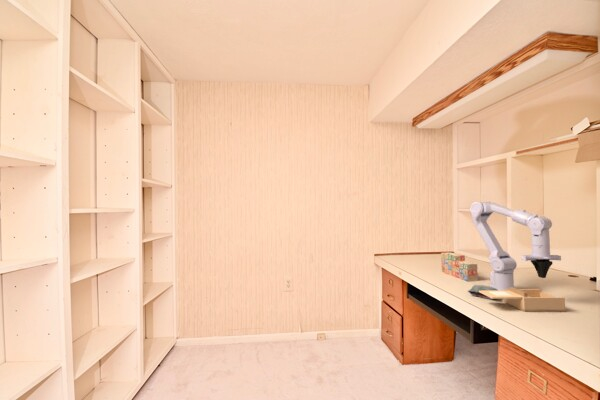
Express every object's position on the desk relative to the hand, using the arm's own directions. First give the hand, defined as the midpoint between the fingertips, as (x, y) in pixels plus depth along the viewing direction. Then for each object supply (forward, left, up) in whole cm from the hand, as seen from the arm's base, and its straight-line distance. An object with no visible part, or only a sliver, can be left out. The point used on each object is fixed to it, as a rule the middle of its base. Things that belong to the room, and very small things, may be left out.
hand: (542, 277), depth 112 cm
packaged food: (-6, -20, -10) cm, 23 cm away
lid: (+6, -20, -5) cm, 22 cm away
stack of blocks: (-41, -13, -10) cm, 44 cm away
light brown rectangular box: (+6, -9, -10) cm, 15 cm away
